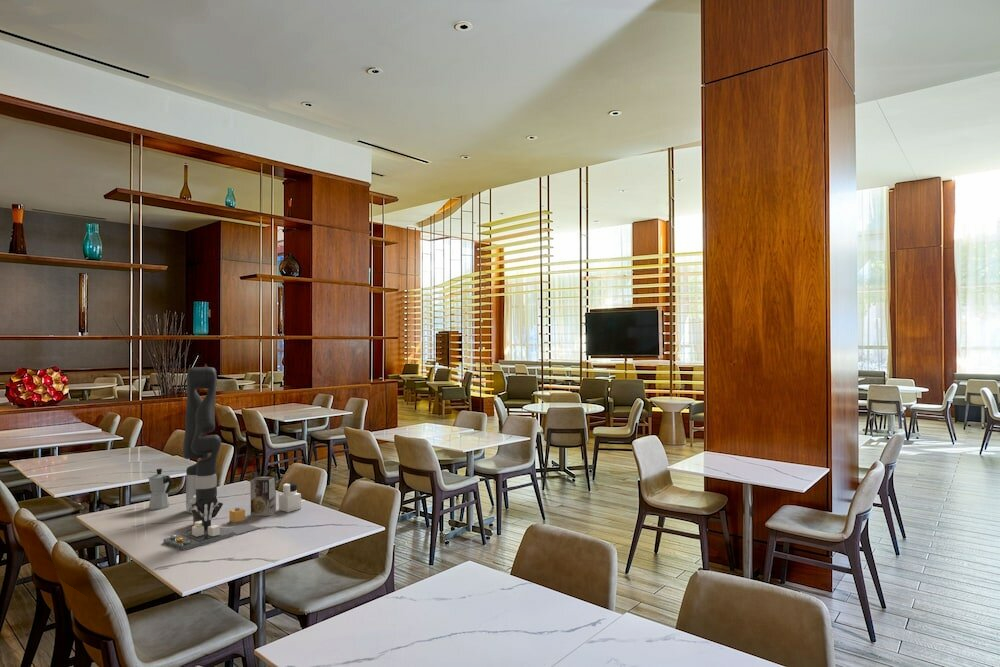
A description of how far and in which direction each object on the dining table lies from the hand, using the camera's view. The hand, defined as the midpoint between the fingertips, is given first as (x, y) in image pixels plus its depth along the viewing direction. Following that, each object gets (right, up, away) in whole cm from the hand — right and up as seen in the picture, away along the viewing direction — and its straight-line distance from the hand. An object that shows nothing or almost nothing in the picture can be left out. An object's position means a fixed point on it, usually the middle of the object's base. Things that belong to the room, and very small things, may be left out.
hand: (206, 529), depth 229 cm
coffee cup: (-11, -4, +18) cm, 21 cm away
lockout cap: (+3, -4, +20) cm, 21 cm away
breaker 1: (-4, -1, +3) cm, 5 cm away
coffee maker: (-43, -4, +43) cm, 61 cm away
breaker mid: (-2, -1, -3) cm, 3 cm away
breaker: (+4, -1, -2) cm, 5 cm away
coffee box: (+10, -4, +31) cm, 33 cm away
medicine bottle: (+19, -4, +38) cm, 43 cm away
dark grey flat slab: (-2, -3, -2) cm, 4 cm away
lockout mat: (+10, -3, +9) cm, 14 cm away
